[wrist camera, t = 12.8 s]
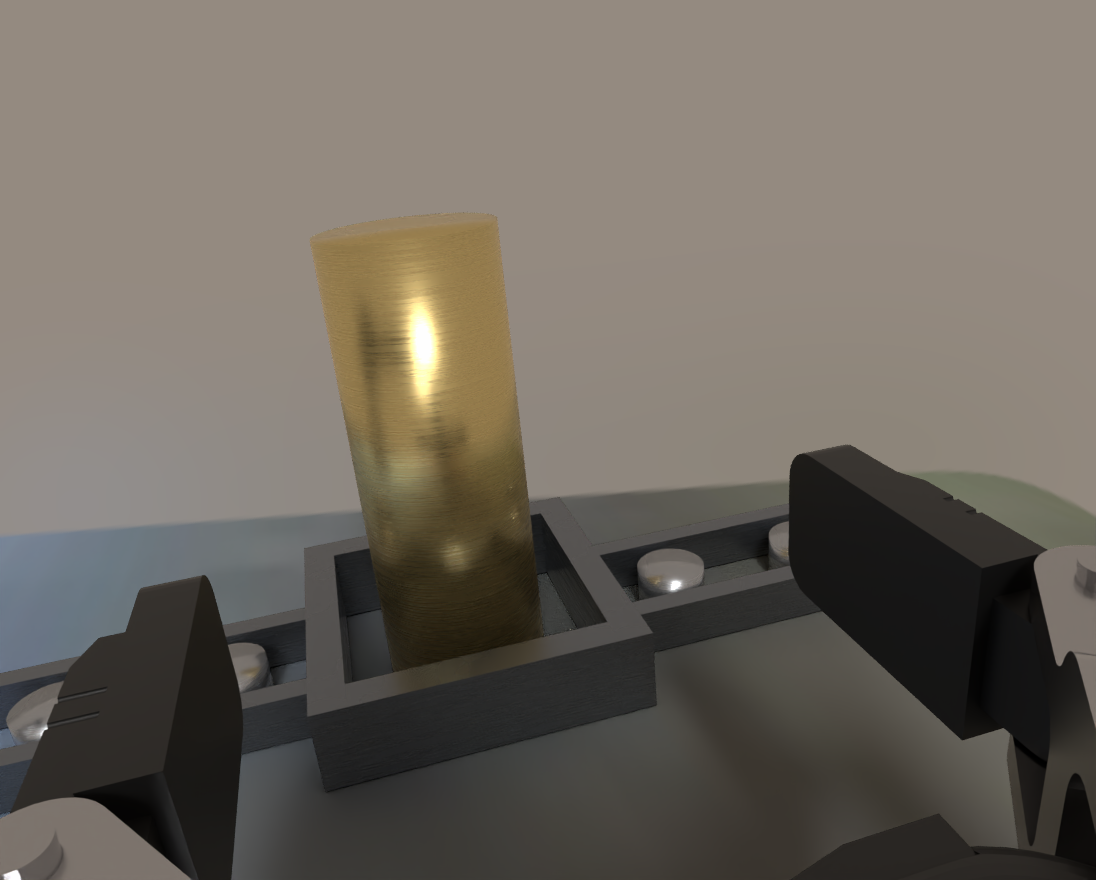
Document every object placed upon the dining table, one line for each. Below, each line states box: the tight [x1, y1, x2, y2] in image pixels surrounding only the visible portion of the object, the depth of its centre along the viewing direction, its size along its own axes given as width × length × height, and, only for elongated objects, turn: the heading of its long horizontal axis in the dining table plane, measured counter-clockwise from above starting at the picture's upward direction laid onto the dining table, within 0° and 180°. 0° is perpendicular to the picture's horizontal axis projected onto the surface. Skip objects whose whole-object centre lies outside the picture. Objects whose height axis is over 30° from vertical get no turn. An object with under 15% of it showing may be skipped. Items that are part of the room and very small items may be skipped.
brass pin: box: [310, 213, 544, 672], centre depth 20 cm, size 4×4×11 cm
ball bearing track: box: [0, 497, 821, 814], centre depth 22 cm, size 24×8×2 cm, turn 105°
